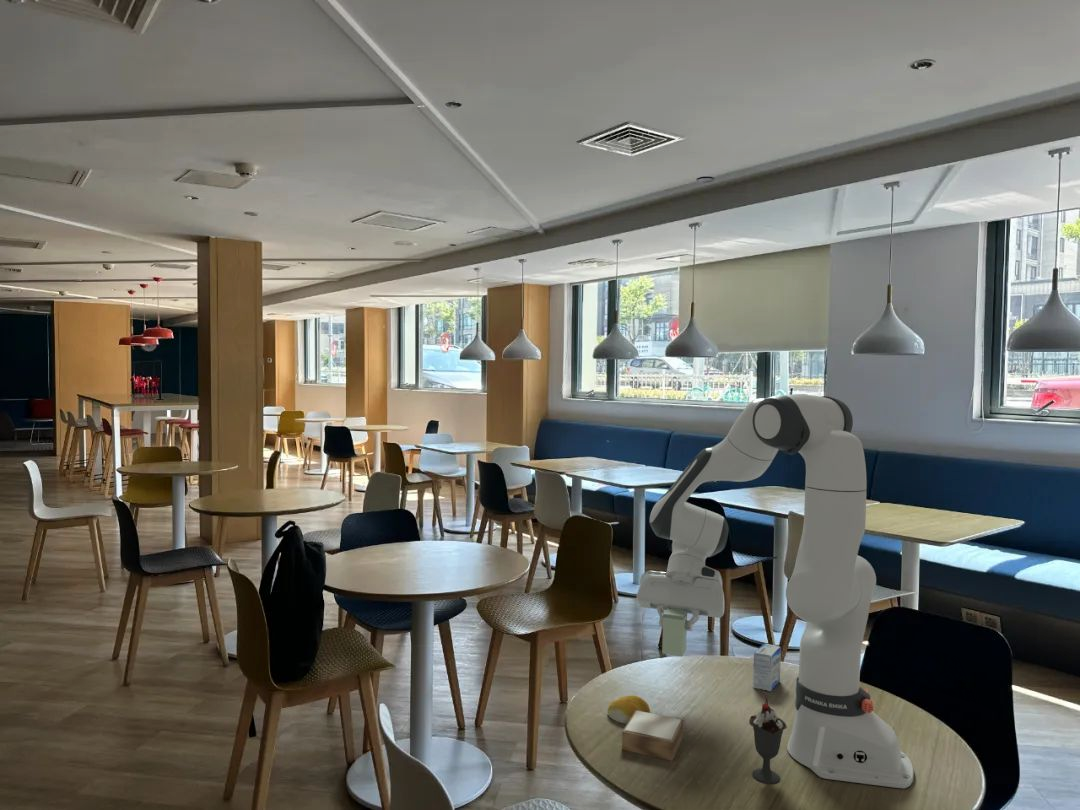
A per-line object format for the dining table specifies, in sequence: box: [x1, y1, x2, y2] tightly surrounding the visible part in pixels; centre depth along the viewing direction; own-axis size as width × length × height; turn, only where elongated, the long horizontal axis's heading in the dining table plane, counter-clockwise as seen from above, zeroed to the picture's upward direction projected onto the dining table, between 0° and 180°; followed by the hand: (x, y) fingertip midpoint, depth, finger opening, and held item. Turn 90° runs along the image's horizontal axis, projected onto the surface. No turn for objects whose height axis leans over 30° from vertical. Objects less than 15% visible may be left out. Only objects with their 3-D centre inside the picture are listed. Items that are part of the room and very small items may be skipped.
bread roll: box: [607, 695, 651, 725], centre depth 159 cm, size 8×9×4 cm
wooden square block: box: [621, 710, 684, 761], centre depth 147 cm, size 10×10×4 cm
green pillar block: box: [661, 608, 688, 657], centre depth 167 cm, size 5×5×9 cm
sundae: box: [748, 691, 788, 785], centre depth 135 cm, size 7×7×15 cm
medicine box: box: [752, 643, 782, 692], centre depth 176 cm, size 8×4×9 cm, turn 147°
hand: (675, 627), depth 167 cm, fingers closed on green pillar block, 4 cm apart
